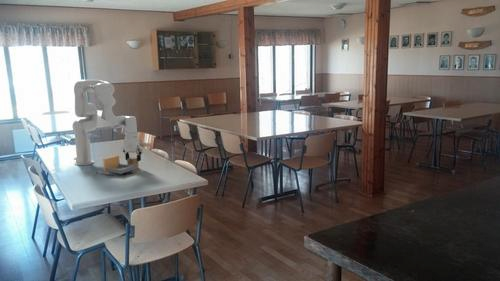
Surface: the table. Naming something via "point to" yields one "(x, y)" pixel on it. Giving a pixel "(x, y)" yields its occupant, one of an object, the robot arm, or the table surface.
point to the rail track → (115, 174)
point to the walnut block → (132, 162)
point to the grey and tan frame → (116, 165)
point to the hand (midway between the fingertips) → (133, 160)
